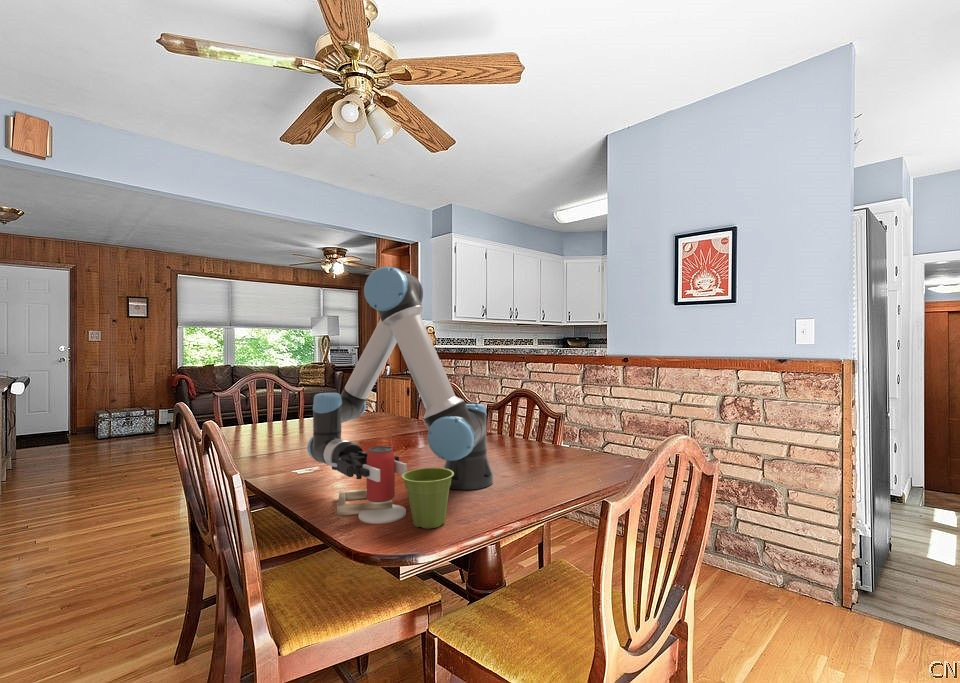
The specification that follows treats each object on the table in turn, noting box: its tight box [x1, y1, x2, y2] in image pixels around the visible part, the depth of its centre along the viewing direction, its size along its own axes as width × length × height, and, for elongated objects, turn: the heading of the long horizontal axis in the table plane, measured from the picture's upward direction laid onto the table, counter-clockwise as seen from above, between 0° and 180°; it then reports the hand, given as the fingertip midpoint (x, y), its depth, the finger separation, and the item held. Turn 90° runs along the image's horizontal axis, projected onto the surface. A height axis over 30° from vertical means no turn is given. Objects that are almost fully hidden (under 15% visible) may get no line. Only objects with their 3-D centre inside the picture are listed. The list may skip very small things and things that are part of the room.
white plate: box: [358, 503, 407, 525], centre depth 117 cm, size 11×11×1 cm
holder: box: [336, 488, 393, 517], centre depth 125 cm, size 13×13×2 cm
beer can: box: [366, 445, 396, 503], centre depth 117 cm, size 7×7×12 cm
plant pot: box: [401, 467, 454, 530], centre depth 111 cm, size 12×12×11 cm
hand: (392, 472), depth 113 cm, fingers closed on beer can, 7 cm apart
